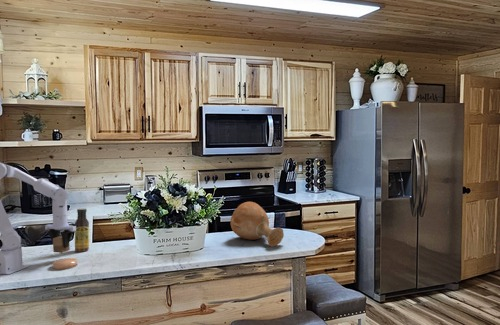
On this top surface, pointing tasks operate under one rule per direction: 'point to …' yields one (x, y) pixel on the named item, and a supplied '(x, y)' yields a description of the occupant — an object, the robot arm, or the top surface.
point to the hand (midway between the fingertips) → (61, 246)
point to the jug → (254, 224)
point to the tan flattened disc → (64, 263)
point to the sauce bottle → (81, 231)
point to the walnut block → (59, 245)
